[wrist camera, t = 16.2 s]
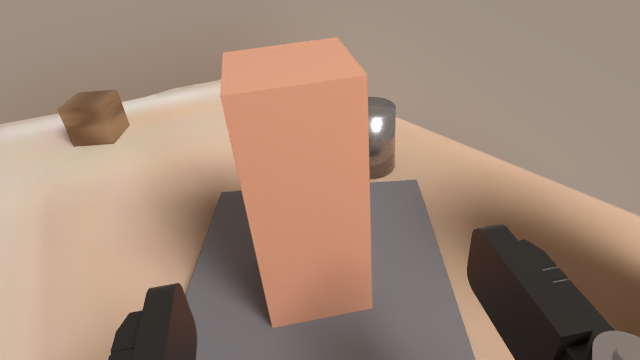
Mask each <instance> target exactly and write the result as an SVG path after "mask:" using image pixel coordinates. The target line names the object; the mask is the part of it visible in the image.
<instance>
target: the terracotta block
mask: <svg viewBox="0 0 640 360" xmlns="http://www.w3.org/2000/svg"><path fill="white" fill-rule="evenodd" d="M220 97H221V101H222V106H223V110H224V115H225V119H226V124H227V128H228V132H229V137H230V141H231V146H232V150H233V155H234V159H235V164H236V168H237V173H238V177H239V181H240V186H241V190H242V195H243V199H244V204H245V208H246V213H247V217H248V222H249V226H250V230H251V235H252V239H253V244H254V248H255V253H256V257H257V262H258V266H259V271H260V275H261V279H262V284H263V288H264V293H265V297H266V302H267V306H268V311H269V315H270V320H271V324H272V328H275V327H280V326H285V325H290V324H295V323H300V322H305V321H310V320H316V319H321V318H326V317H331V316H336V315H341V314H346V313H351V312H356V311H361V310H366V309H372V269H371V221H370V174H369V126H368V80H367V74H366V73H365V71H364V70H363V69H362V68H361V66H360V65H359V64H358V63H357V61H356V60H355V59H354V58H353V56H352V55H351V54H350V52H349V51H348V50H347V49H346V48H345V46H344V45H343V44H342V42H341V41H340V40H339V39H338V38H329V39H322V40H314V41H306V42H299V43H292V44H284V45H276V46H268V47H261V48H254V49H246V50H238V51H231V52H224V53H223V62H222V78H221V93H220Z"/></svg>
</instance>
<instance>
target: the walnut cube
mask: <svg viewBox="0 0 640 360" xmlns="http://www.w3.org/2000/svg"><path fill="white" fill-rule="evenodd" d="M57 110H58V112H59V115H60V117H61V119H62V121H63V123H64V125H65V128H66V130H67V132H68V134H69V136H70V139H71V141H72V143H73V145H74V147H75V146H89V145H103V144H114V143H115V142H116V141H117V140H118V139H119V137H120V136H121V135H122V134H123V133H124V131H125V130H126V129H127V128H128V127H129V122H128V119H127V116H126V114H125V111H124V108H123V105H122V103H121V100H120V97H119V94H118V92H117V90H107V91H94V92H82V93H77V94H76V95H75V96H73V97H72V98H71V99H70V100H68V101H67V102H66V103H65V104H64V105H62V106H61V107H60V108H58V109H57Z"/></svg>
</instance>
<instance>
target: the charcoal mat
mask: <svg viewBox="0 0 640 360" xmlns="http://www.w3.org/2000/svg"><path fill="white" fill-rule="evenodd" d="M370 221H371V269H372V309H366V310H361V311H356V312H351V313H346V314H341V315H336V316H331V317H326V318H321V319H316V320H310V321H305V322H300V323H295V324H290V325H285V326H280V327H275V328H272V324H271V320H270V315H269V311H268V306H267V302H266V297H265V293H264V288H263V284H262V279H261V275H260V271H259V266H258V262H257V257H256V253H255V248H254V244H253V239H252V235H251V230H250V226H249V222H248V217H247V213H246V208H245V204H244V199H243V195H242V191H233V192H221V195H220V198H219V201H218V204H217V207H216V210H215V213H214V216H213V218H212V221H211V224H210V227H209V230H208V233H207V236H206V239H205V242H204V245H203V248H202V250H201V253H200V256H199V259H198V262H197V265H196V268H195V271H194V274H193V277H192V279H191V282H190V285H189V288H188V291H187V294H186V299H187V302H188V304H189V307H190V310H191V312H192V315H193V318H194V320H195V324H196V330H197V352H196V360H475V357H474V354H473V351H472V348H471V345H470V342H469V339H468V336H467V333H466V330H465V327H464V323H463V320H462V317H461V314H460V311H459V308H458V305H457V302H456V299H455V296H454V293H453V290H452V287H451V284H450V281H449V278H448V275H447V271H446V268H445V265H444V262H443V259H442V256H441V253H440V250H439V247H438V244H437V241H436V238H435V235H434V232H433V229H432V226H431V223H430V219H429V216H428V213H427V210H426V207H425V204H424V201H423V198H422V195H421V192H420V189H419V186H418V183H417V180H406V181H391V182H375V183H370Z"/></svg>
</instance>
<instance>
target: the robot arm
mask: <svg viewBox="0 0 640 360" xmlns="http://www.w3.org/2000/svg"><path fill="white" fill-rule="evenodd" d="M467 276H468V280H469V284H470V286H471V288H472V290H473V292H474V294H475V295H476V297H477V299H478V300H479V302H480V303H481V305H482V307H483V308H484V310H485V312H486V313H487V315H488V316H489V318H490V320H491V321H492V323H493V325H494V326H495V328H496V329H497V331H498V333H499V334H500V336H501V338H502V339H503V341H504V342H505V344H506V346H507V347H508V349H509V351H510V352H511V354H512V355H513V357H514V359H515V360H640V337H638V336H636V335H633V334H630V333H626V332H622V331H615V330H614V329H613V328H612V327H611V326H610V325H609V324H608V323H607V321H606V320H605V319H604V318H603V317H602V316H601V315H600V314H599V312H598V311H597V310H596V309H595V308H594V307H593V306H592V305H591V303H590V302H589V301H588V300H587V299H586V298H585V297H584V296H583V295H582V293H581V292H580V291H579V290H578V289H577V288H576V287H575V286H574V284H573V283H572V282H571V281H568V279H567V277H566V275H565V274H564V273H563V272H562V271H561V270H560V269H559V268H557V265H556V264H555V263H554V262H553V261H552V260H551V259H550V258H549V256H548V255H547V254H546V253H545V252H544V251H543V250H541V249H540V248H538V247H537V246H535V245H533V244H532V243H530V242H528V241H527V240H520V241H518V240H517V239H516V238H515V237H514V235H513V234H512V233H511V232H510V231H509V230H508V228H507V227H506V226H504V225H495V226H490V227H484V228H478V229H475V230H474V231H473V233H472V238H471V245H470V252H469V258H468V265H467ZM196 352H197V330H196V324H195V320H194V318H193V315H192V312H191V310H190V307H189V304H188V302H187V299H186V296H185V294H184V291H183V288H182V286H181V285H180V284H179V283H176V284H171V285H165V286H159V287H154V288H149V289H148V291H147V294H146V298H145V302H144V307H143V311H138V312H132V313H129V314H128V316H127V317H126V319H125V320H124V321H123V323H122V324H121V326H120V327H119V328H118V330H117V331H116V334H115V338H114V341H113V345H112V348H111V355H110V356H109V359H108V360H196Z"/></svg>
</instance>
